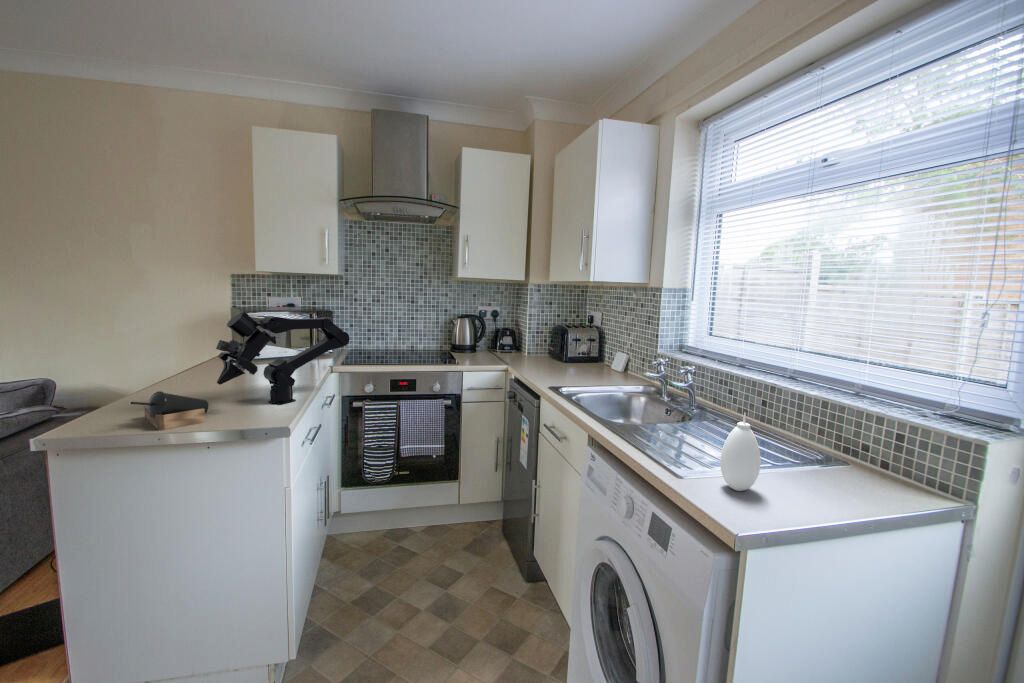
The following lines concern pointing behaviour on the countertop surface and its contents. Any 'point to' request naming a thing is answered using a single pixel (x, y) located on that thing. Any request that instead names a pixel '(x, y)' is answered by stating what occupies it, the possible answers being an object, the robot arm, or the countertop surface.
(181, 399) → the drinking cup
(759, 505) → the countertop surface
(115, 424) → the countertop surface
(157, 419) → the wooden tray
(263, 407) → the countertop surface
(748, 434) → the sauce bottle
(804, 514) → the countertop surface
